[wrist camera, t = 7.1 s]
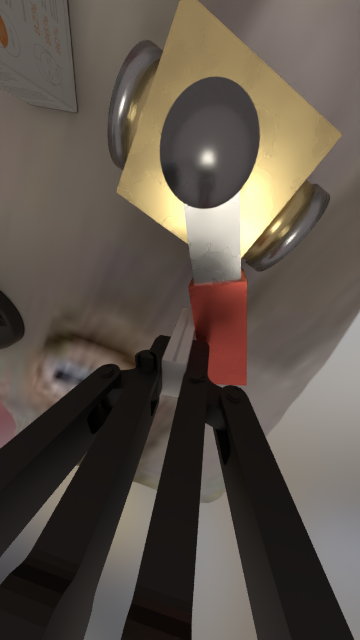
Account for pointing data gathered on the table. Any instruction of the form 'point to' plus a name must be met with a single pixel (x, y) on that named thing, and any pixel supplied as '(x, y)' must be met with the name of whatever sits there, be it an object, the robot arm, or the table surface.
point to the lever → (214, 210)
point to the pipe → (117, 118)
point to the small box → (37, 53)
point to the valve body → (274, 120)
